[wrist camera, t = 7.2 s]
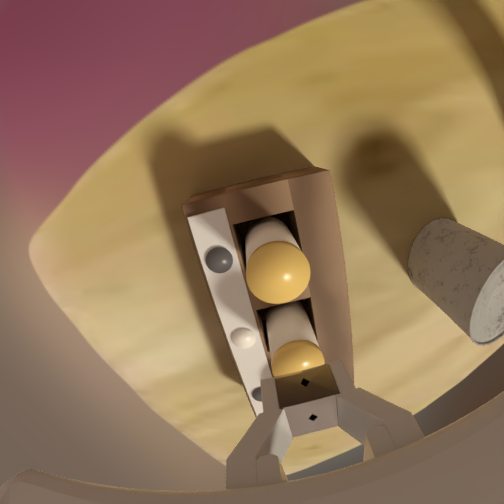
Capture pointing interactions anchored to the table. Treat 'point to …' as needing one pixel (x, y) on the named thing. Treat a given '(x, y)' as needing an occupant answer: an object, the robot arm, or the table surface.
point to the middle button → (291, 339)
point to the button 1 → (274, 262)
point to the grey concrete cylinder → (461, 277)
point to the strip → (231, 298)
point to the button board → (309, 241)
